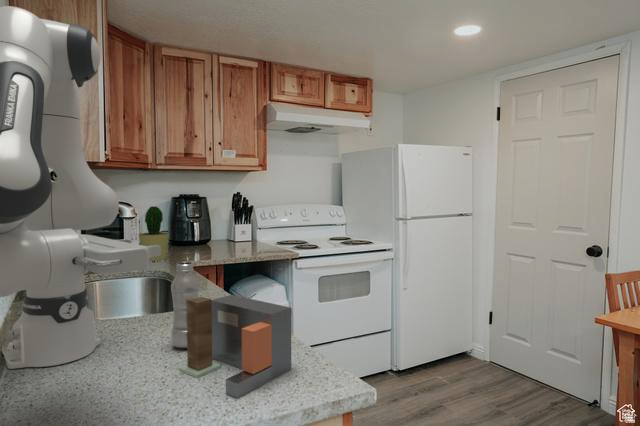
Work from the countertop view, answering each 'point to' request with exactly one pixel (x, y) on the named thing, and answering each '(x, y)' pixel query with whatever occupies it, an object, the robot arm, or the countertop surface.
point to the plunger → (256, 347)
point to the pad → (201, 372)
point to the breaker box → (228, 339)
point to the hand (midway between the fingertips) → (143, 246)
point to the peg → (199, 333)
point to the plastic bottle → (182, 301)
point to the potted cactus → (155, 233)
